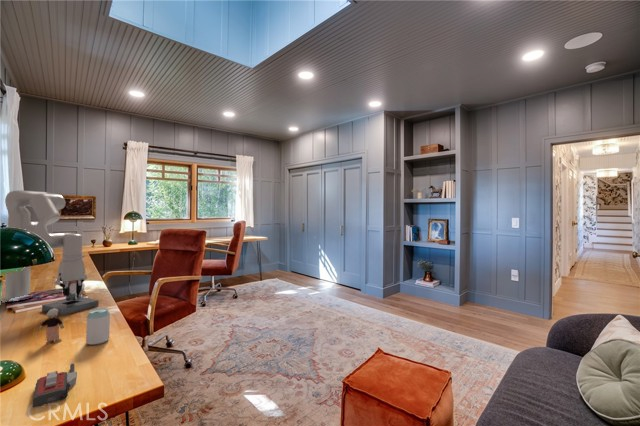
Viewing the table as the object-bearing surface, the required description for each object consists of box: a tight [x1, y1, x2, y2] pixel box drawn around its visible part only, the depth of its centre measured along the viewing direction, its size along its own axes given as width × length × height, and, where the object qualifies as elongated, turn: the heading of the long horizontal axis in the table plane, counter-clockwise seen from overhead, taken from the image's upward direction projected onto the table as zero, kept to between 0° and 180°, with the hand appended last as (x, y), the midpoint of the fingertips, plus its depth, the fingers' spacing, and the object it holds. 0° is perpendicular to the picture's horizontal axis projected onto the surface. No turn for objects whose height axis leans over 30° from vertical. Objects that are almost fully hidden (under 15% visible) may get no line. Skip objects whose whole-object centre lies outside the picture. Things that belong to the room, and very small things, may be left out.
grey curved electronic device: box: [77, 282, 86, 297], centre depth 163 cm, size 17×5×10 cm, turn 42°
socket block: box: [41, 296, 99, 317], centre depth 147 cm, size 16×16×3 cm
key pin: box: [65, 280, 77, 301], centre depth 147 cm, size 4×4×10 cm
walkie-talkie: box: [32, 362, 78, 408], centre depth 83 cm, size 9×4×20 cm
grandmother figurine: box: [38, 309, 65, 345], centre depth 110 cm, size 8×4×13 cm, turn 115°
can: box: [85, 307, 111, 346], centre depth 111 cm, size 7×7×12 cm
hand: (71, 294), depth 147 cm, fingers closed on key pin, 4 cm apart
